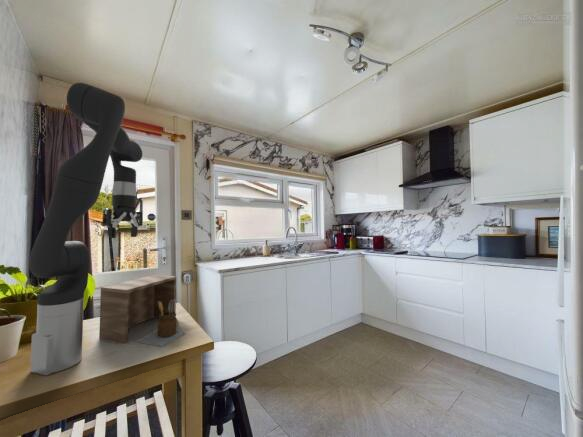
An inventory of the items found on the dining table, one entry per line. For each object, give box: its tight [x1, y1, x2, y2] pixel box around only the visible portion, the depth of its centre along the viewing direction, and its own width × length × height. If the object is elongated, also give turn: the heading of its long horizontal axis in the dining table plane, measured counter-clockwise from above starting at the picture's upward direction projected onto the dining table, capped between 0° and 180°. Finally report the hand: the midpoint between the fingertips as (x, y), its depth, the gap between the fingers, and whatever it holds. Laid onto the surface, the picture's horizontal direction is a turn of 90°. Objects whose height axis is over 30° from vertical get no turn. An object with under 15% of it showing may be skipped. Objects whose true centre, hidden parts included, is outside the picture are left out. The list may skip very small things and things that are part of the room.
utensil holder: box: [156, 300, 178, 338], centre depth 84 cm, size 6×6×12 cm
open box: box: [98, 274, 177, 345], centre depth 90 cm, size 22×11×17 cm, turn 164°
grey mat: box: [137, 329, 186, 347], centre depth 82 cm, size 10×10×1 cm
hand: (123, 237), depth 92 cm, fingers open, 8 cm apart
